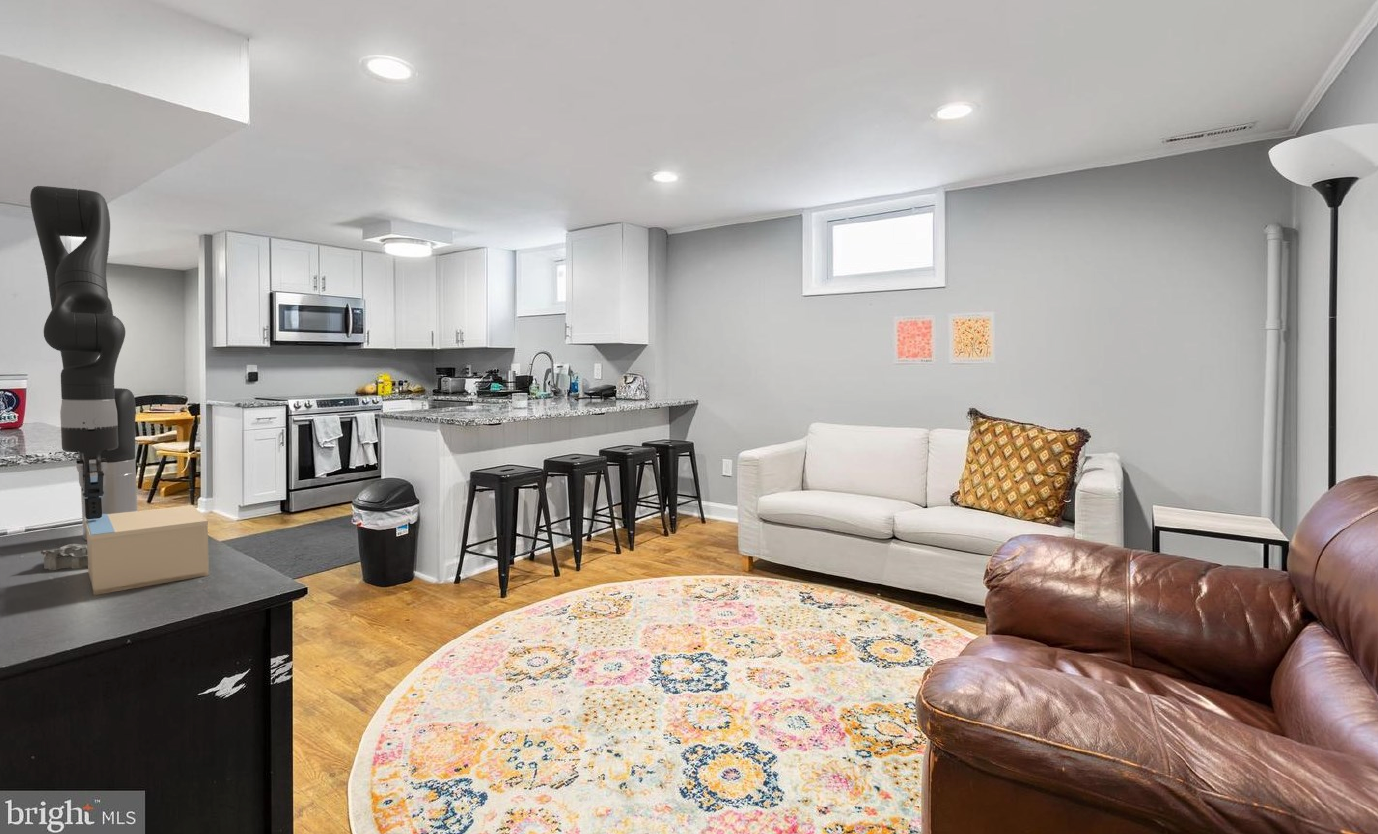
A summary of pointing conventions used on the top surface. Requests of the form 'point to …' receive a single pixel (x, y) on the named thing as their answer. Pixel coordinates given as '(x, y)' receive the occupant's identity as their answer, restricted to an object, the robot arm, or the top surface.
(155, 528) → the box lid
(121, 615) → the top surface
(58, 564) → the egg carton
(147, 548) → the cardboard box
